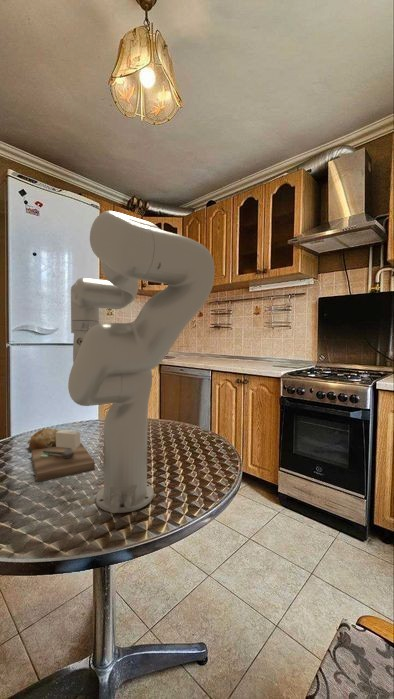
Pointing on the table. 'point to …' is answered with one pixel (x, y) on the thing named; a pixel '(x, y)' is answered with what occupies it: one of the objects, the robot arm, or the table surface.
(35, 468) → the brown wooden flat board
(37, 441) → the bread roll
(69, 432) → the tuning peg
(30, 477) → the table surface
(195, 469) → the table surface
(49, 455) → the dial marks
